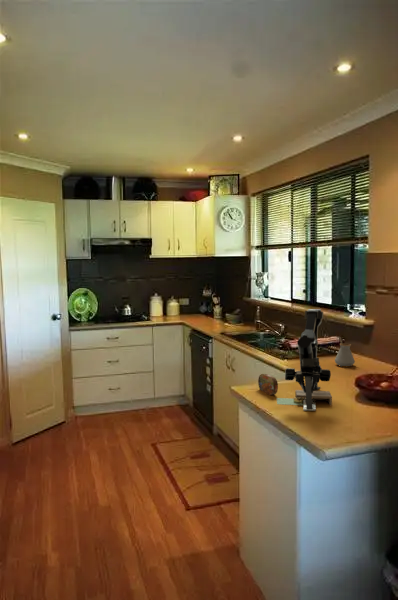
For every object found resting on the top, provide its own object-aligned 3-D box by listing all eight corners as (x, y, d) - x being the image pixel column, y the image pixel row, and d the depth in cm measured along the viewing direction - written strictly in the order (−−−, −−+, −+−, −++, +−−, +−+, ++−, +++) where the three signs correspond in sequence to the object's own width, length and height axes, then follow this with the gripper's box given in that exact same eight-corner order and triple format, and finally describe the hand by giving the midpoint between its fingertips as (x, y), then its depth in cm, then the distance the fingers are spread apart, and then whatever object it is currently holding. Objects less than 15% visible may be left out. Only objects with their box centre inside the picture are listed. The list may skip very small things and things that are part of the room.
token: (293, 399, 208) (293, 396, 208) (303, 400, 208) (303, 397, 208) (293, 403, 204) (293, 399, 204) (303, 403, 203) (304, 400, 203)
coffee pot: (356, 367, 269) (357, 342, 268) (336, 367, 270) (337, 342, 269) (347, 359, 290) (348, 336, 289) (329, 359, 291) (329, 336, 290)
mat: (276, 398, 211) (276, 397, 211) (308, 399, 209) (308, 399, 209) (277, 404, 202) (277, 404, 202) (310, 405, 200) (310, 405, 200)
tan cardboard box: (295, 398, 211) (295, 390, 210) (329, 399, 209) (329, 391, 208) (296, 404, 203) (296, 395, 202) (331, 405, 201) (331, 396, 200)
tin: (257, 388, 227) (257, 372, 226) (263, 388, 228) (263, 371, 227) (272, 397, 213) (273, 379, 212) (278, 396, 214) (279, 378, 213)
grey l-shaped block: (303, 399, 208) (302, 369, 207) (315, 399, 207) (313, 369, 206) (303, 410, 193) (301, 377, 192) (315, 410, 192) (313, 377, 191)
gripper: (285, 349, 197) (286, 382, 187) (330, 350, 195) (334, 383, 185) (284, 363, 206) (285, 395, 196) (327, 364, 203) (330, 396, 193)
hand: (308, 392), depth 192 cm, fingers closed on grey l-shaped block, 3 cm apart
